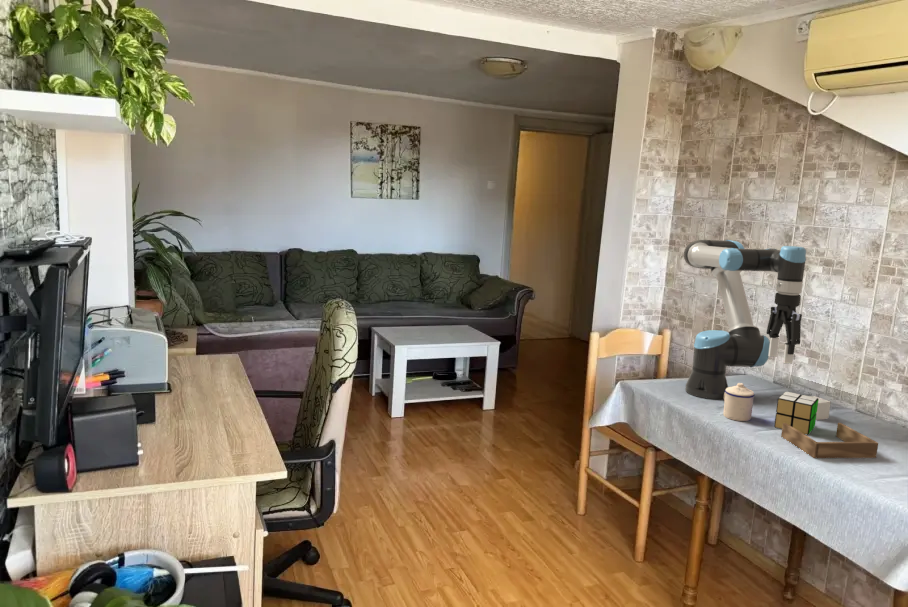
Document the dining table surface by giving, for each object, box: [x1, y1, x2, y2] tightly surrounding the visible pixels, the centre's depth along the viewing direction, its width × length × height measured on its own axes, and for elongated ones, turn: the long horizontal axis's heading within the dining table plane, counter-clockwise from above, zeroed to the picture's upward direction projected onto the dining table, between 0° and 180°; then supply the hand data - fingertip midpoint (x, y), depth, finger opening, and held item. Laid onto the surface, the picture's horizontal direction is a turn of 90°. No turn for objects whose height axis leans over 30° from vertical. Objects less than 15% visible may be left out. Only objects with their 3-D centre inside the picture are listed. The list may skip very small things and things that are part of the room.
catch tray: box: [780, 422, 879, 459], centre depth 191 cm, size 16×19×4 cm
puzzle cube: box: [773, 391, 819, 436], centre depth 207 cm, size 10×10×10 cm
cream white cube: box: [812, 395, 831, 421], centre depth 218 cm, size 6×6×6 cm
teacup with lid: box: [722, 382, 756, 422], centre depth 216 cm, size 12×9×12 cm
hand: (780, 359), depth 216 cm, fingers open, 8 cm apart
